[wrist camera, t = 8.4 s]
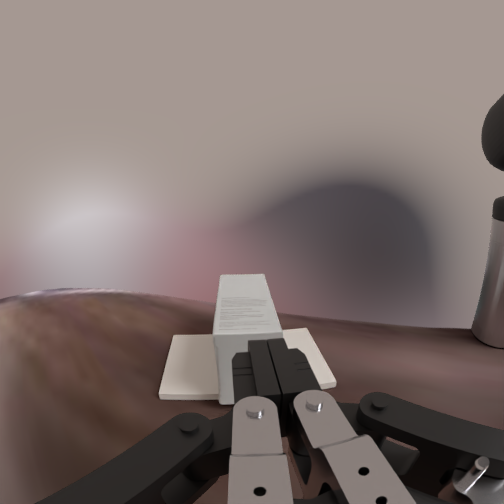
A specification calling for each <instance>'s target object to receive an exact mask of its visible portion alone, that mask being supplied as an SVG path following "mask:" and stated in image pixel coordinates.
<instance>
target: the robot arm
mask: <svg viewBox="0 0 504 504" xmlns="http://www.w3.org/2000/svg"><path fill="white" fill-rule="evenodd" d="M482 148H483V151H484V154H485V156H486V158H487V160H488V161H489V163H490V164H491V165H493V166H494V167H496V168H498V169H500V170H501V171H504V94H503V96H501V98H500V99H499V100H498V101H497V102H496V103H495V104H494V105H493V106H492V107H491V109H490V110H489V112H488V114H487V116H486V118H485V121H484V125H483V128H482ZM492 217H493V218H492V226H491V235H490V243H489V251H488V258H487V263H486V269H485V274H484V280H483V284H482V289H481V293H480V298H479V302H478V305H477V309H476V313H475V317H474V321H473V324H472V328H471V329H472V332H473V334H474V335H475V336H476V337H477V338H478V339H479V340H481V341H482V342H484V343H486V344H488V345H491V346H494V347H498V348H504V196H503V197H499V198H497V199H495V201H494V204H493V215H492ZM232 377H233V392H234V406H233V408H232V409H231V411H230V412H229V413H227V414H226V415H224V416H222V417H219V418H216V419H212V420H209V419H208V418H206V417H205V416H203V415H201V414H198V413H183V414H179V415H177V416H175V417H173V418H172V419H171V420H169V421H168V422H166V423H165V424H164V425H162V426H161V427H160V428H158V429H157V430H155V431H154V432H153V433H151V434H150V435H148V436H147V437H145V438H144V439H142V440H141V441H140V442H138V443H137V444H135V445H134V446H132V447H131V448H129V449H128V450H126V451H125V452H123V453H122V454H120V455H119V456H117V457H115V458H114V459H112V460H111V461H109V462H108V463H106V464H104V465H103V466H101V467H100V468H98V469H96V470H95V471H93V472H91V473H90V474H88V475H86V476H85V477H83V478H81V479H80V480H78V481H76V482H74V483H73V484H71V485H69V486H67V487H65V488H64V489H62V490H60V491H58V492H56V493H54V494H52V495H50V496H49V497H47V498H45V499H43V500H41V501H39V502H37V503H35V504H193V503H194V502H195V501H196V500H197V499H198V498H199V497H200V496H201V495H202V494H204V493H205V492H206V491H207V490H208V489H209V488H210V487H211V486H212V485H213V484H214V483H215V482H216V481H217V480H218V478H219V476H222V475H226V474H229V485H228V504H504V430H500V429H496V428H492V427H488V426H484V425H481V424H477V423H473V422H470V421H466V420H463V419H460V418H456V417H453V416H450V415H447V414H443V413H440V412H437V411H434V410H431V409H428V408H425V407H422V406H419V405H416V404H413V403H411V402H408V401H405V400H402V399H399V398H397V397H394V396H391V395H389V394H386V393H381V392H374V393H369V394H367V395H365V396H364V397H363V398H362V399H361V400H360V403H359V404H354V403H340V402H336V401H335V400H334V398H333V397H332V396H331V395H330V394H328V393H326V392H324V391H322V389H321V387H320V385H319V383H318V381H317V379H316V376H315V374H314V372H313V370H312V369H311V366H310V364H309V362H308V360H307V357H306V355H305V354H304V353H303V352H301V351H300V350H299V349H298V348H292V349H288V347H287V344H286V342H285V339H284V338H275V339H266V340H265V339H261V340H248V352H238V353H236V354H235V355H234V357H233V358H232ZM387 436H388V437H390V438H393V439H395V440H398V441H400V442H403V443H406V444H408V445H411V446H414V447H416V448H417V449H418V450H411V449H408V448H406V447H403V446H400V445H398V444H395V443H393V442H390V441H388V440H385V439H386V437H387ZM281 437H287V438H288V441H289V446H288V454H289V456H290V459H291V462H292V464H293V467H294V470H295V472H296V475H297V478H298V480H299V483H300V485H301V488H302V492H303V499H293V497H292V490H291V483H290V476H289V469H288V462H287V457H286V454H285V453H283V449H282V441H281Z"/></svg>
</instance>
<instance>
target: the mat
mask: <svg viewBox="0 0 504 504" xmlns="http://www.w3.org/2000/svg"><path fill="white" fill-rule="evenodd" d="M282 331H283V338H284V339H285V342H286V344H287V347H288V349H292V348H298V349H299V350H300V351H301V352H303V353H304V354H305V355H306V357H307V360H308V362H309V364H310V366H311V369H312V370H313V372H314V374H315V376H316V379H317V381H318V383H319V385H320V387H321V389H327V388H333V387H336V380H335V378H334V376H333V374H332V372H331V371H330V369H329V367H328V365H327V363H326V362H325V360H324V358H323V356H322V354H321V353H320V351H319V349H318V347H317V345H316V344H315V342H314V340H313V338H312V337H311V335H310V333H309V331H308V329H307V328H300V329H289V330H282ZM218 396H219V389H218V374H217V364H216V357H215V349H214V344H213V335H212V334H205V335H174V336H173V340H172V343H171V347H170V351H169V355H168V358H167V362H166V366H165V370H164V374H163V378H162V382H161V386H160V390H159V397H160V399H165V400H219V399H218Z"/></svg>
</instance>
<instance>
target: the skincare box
mask: <svg viewBox="0 0 504 504" xmlns="http://www.w3.org/2000/svg"><path fill="white" fill-rule="evenodd" d="M212 335H213V344H214V349H215V357H216V364H217V374H218V389H219V396H218V399H219V403H220V404H222V405H226V404H234V392H233V377H232V358H233V357H234V355H235V354H236V353H238V352H248V340H261V339H265V340H266V339H275V338H283V331H282V328H281V325H280V322H279V319H278V316H277V313H276V310H275V307H274V303H273V301H272V297H271V294H270V291H269V288H268V285H267V282H266V278H265V275H264V274H247V275H220V280H219V288H218V294H217V301H216V309H215V316H214V324H213V333H212Z"/></svg>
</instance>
